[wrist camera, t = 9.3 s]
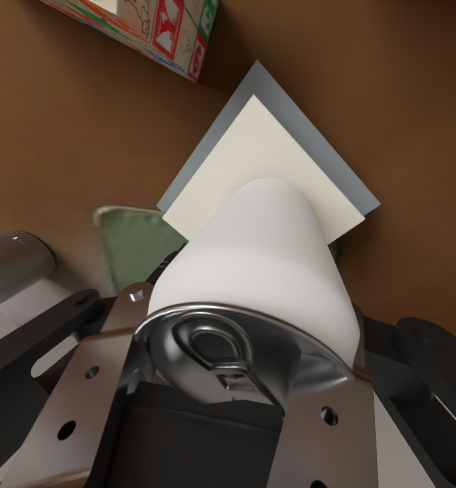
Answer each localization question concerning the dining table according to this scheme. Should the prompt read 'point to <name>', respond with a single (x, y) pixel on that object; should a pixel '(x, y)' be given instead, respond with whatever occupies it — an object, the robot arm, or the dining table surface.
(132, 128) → the dining table surface
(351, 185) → the tower base
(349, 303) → the can
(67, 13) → the stack of blocks
